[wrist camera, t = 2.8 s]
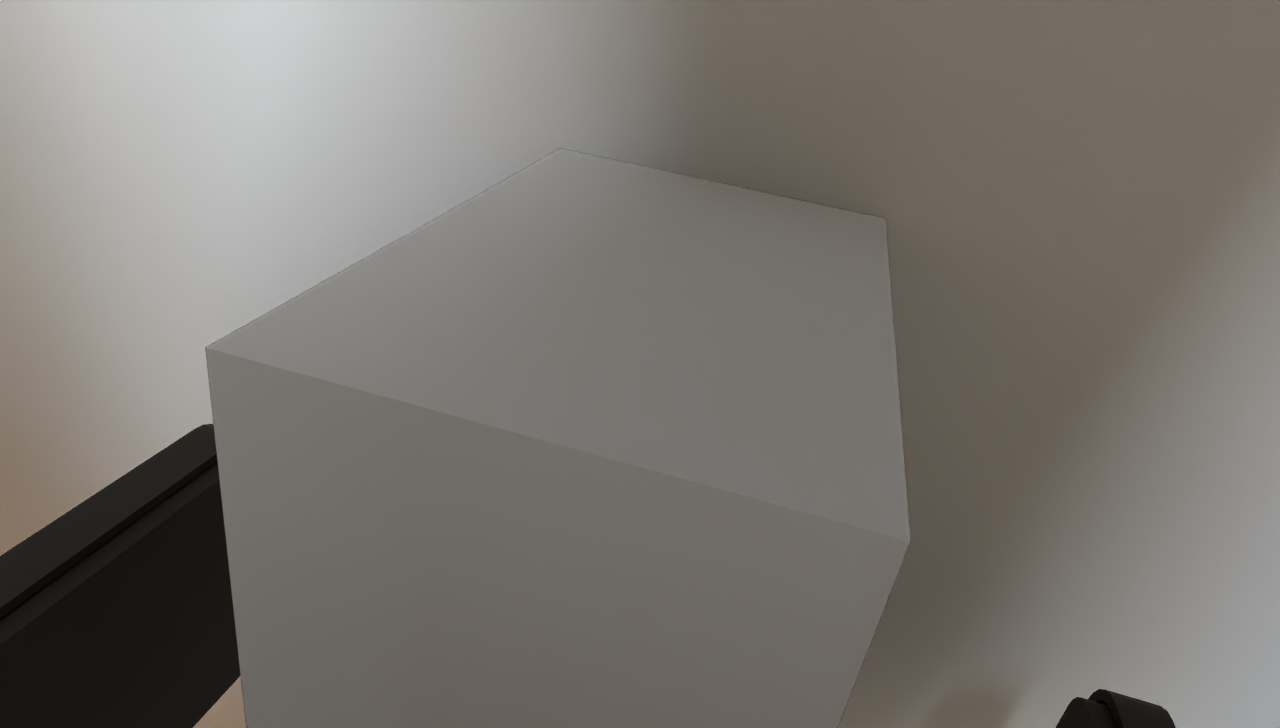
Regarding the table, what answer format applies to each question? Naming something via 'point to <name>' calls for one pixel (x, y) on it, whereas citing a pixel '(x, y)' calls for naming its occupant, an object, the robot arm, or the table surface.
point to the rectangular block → (570, 464)
